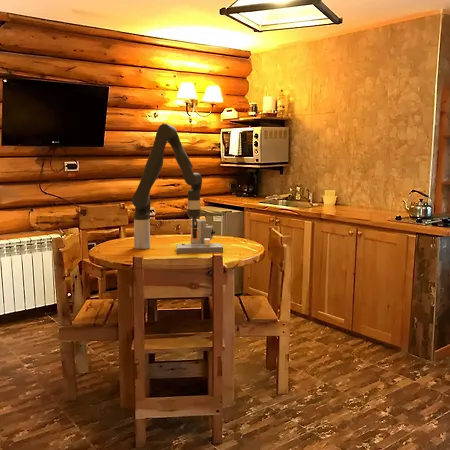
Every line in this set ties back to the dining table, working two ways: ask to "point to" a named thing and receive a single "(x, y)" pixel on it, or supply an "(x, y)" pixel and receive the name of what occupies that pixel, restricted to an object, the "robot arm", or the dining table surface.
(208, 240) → the switch
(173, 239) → the dining table surface
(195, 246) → the breaker panel
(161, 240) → the dining table surface
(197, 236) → the cap
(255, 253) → the dining table surface
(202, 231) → the circuit breaker
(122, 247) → the dining table surface
